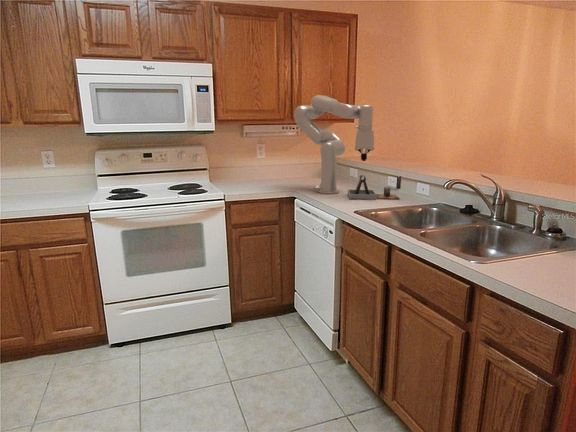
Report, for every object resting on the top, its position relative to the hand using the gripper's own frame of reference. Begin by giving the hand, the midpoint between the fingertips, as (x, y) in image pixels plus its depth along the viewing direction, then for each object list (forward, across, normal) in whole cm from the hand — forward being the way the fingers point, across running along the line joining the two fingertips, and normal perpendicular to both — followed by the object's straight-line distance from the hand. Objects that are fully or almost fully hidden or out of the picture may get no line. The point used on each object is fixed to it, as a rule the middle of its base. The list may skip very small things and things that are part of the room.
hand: (363, 160), depth 223 cm
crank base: (+21, +14, 0) cm, 26 cm away
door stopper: (+21, 0, 0) cm, 21 cm away
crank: (+20, +17, -2) cm, 26 cm away
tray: (+21, 0, 0) cm, 21 cm away
